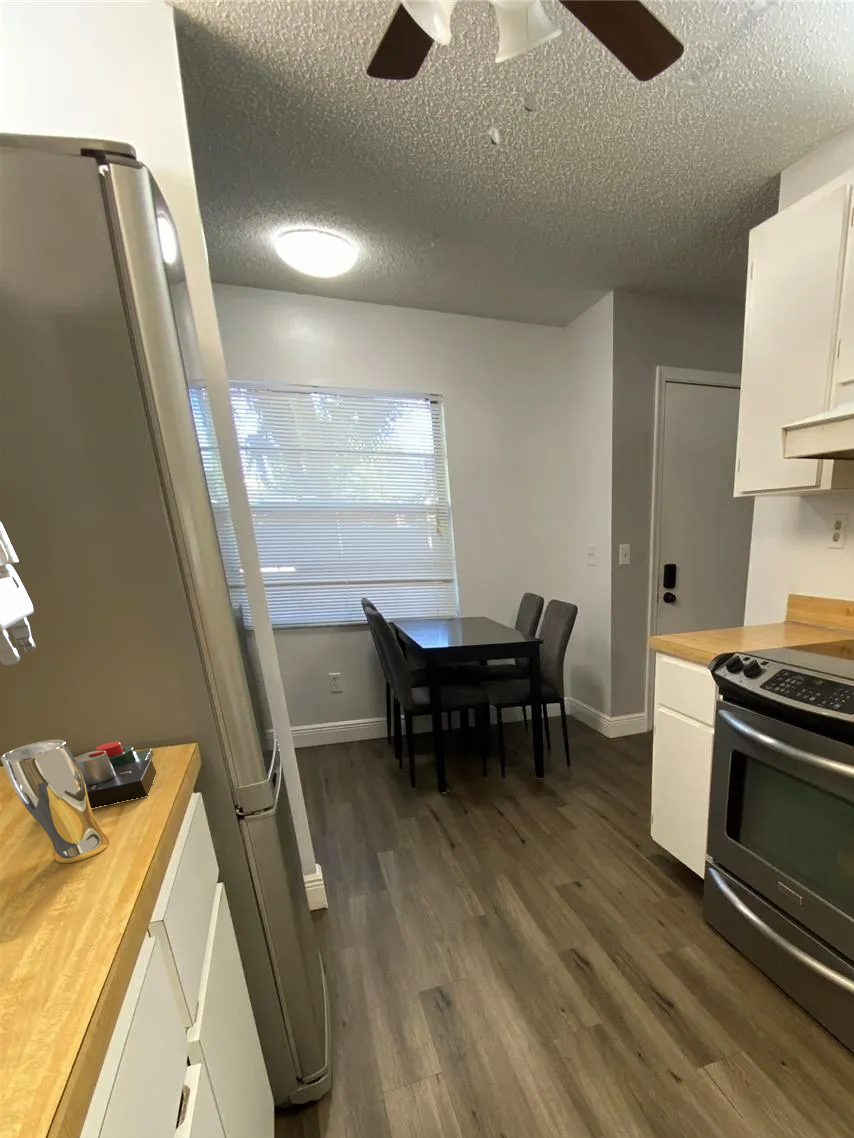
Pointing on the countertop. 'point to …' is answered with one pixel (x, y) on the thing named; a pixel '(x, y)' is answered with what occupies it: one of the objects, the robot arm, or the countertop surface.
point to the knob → (95, 767)
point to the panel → (123, 784)
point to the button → (110, 748)
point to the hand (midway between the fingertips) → (20, 656)
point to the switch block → (130, 756)
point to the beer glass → (56, 798)
